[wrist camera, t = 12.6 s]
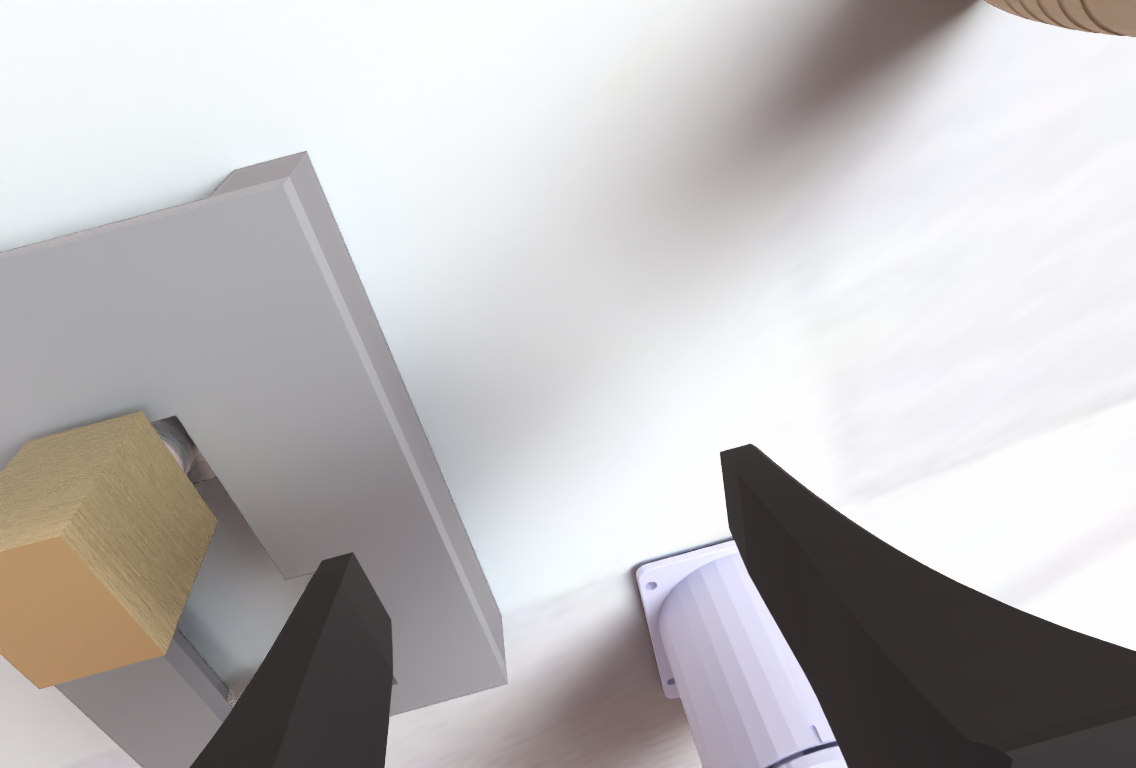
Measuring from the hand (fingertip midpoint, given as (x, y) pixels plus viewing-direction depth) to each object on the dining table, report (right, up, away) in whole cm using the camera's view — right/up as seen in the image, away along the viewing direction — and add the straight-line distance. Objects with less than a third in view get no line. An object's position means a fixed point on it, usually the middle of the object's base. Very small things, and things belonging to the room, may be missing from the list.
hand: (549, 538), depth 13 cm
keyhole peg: (-12, +2, +9) cm, 15 cm away
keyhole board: (-11, -1, +11) cm, 16 cm away
